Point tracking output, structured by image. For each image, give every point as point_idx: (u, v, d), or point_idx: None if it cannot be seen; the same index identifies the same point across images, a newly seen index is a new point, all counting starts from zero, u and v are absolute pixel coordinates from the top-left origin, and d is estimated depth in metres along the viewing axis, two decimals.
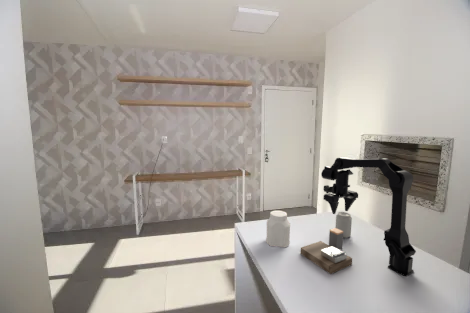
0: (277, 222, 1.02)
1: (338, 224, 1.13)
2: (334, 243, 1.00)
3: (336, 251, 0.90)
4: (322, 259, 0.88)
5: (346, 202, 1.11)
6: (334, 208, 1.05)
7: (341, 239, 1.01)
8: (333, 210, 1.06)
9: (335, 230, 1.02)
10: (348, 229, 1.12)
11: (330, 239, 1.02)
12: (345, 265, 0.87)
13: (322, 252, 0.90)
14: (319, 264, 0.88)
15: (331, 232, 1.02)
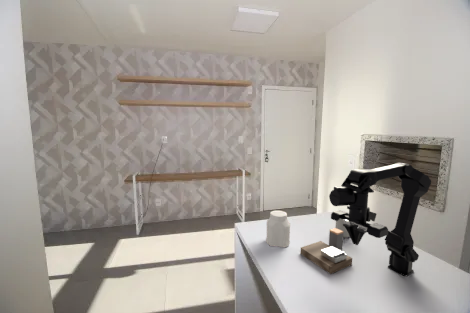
0: (277, 223, 1.02)
1: (338, 224, 1.13)
2: (334, 243, 1.00)
3: (336, 251, 0.90)
4: (322, 259, 0.88)
5: None
6: None
7: (341, 239, 1.01)
8: None
9: (335, 230, 1.02)
10: None
11: (330, 239, 1.02)
12: (345, 265, 0.87)
13: (322, 252, 0.90)
14: (319, 264, 0.88)
15: (331, 232, 1.02)
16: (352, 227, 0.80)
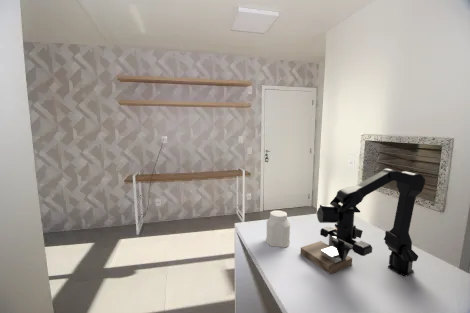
0: (277, 222, 1.02)
1: None
2: None
3: (336, 251, 0.90)
4: (322, 259, 0.88)
5: None
6: None
7: None
8: None
9: None
10: None
11: (330, 239, 1.02)
12: (345, 265, 0.87)
13: (322, 252, 0.90)
14: (319, 264, 0.88)
15: None
16: (340, 244, 0.85)
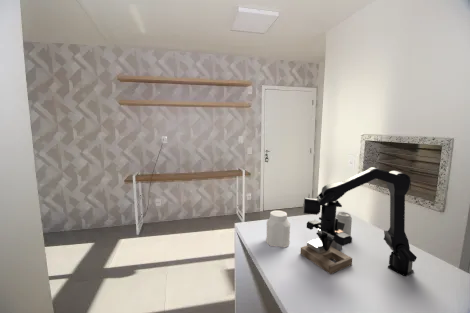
0: (277, 223, 1.02)
1: None
2: (334, 243, 1.00)
3: (321, 243, 0.97)
4: (322, 259, 0.88)
5: None
6: None
7: None
8: None
9: None
10: (348, 229, 1.12)
11: None
12: (345, 265, 0.87)
13: (308, 243, 0.97)
14: (319, 264, 0.88)
15: None
16: (324, 235, 0.92)
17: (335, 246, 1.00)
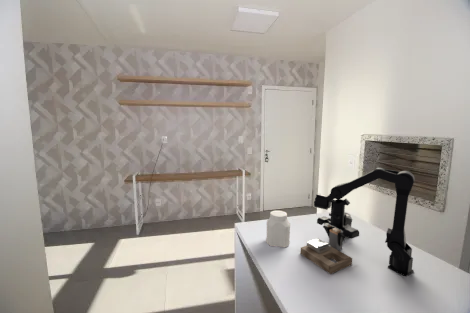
0: (277, 223, 1.02)
1: None
2: (334, 243, 1.00)
3: (321, 243, 0.97)
4: (322, 259, 0.88)
5: None
6: None
7: None
8: None
9: (335, 230, 1.02)
10: None
11: (330, 239, 1.02)
12: (345, 265, 0.87)
13: (308, 243, 0.97)
14: (319, 264, 0.88)
15: (331, 232, 1.02)
16: (329, 228, 1.03)
17: (335, 246, 1.00)
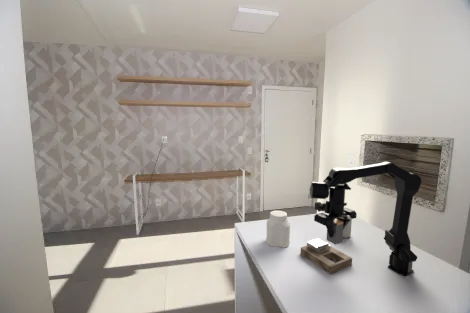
0: (277, 222, 1.02)
1: None
2: (340, 234, 0.87)
3: (321, 243, 0.97)
4: (322, 259, 0.88)
5: None
6: (331, 231, 0.86)
7: None
8: (330, 233, 0.87)
9: (335, 221, 0.88)
10: (348, 229, 1.12)
11: (337, 234, 0.86)
12: (345, 265, 0.87)
13: (308, 243, 0.97)
14: (319, 264, 0.88)
15: (338, 225, 0.86)
16: None
17: (341, 237, 0.88)
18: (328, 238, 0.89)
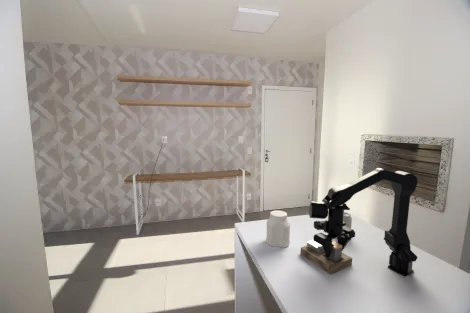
0: (277, 223, 1.02)
1: None
2: (339, 258, 0.88)
3: None
4: (322, 259, 0.88)
5: (339, 242, 0.91)
6: (328, 251, 0.86)
7: None
8: (327, 253, 0.87)
9: (334, 244, 0.89)
10: None
11: (335, 258, 0.87)
12: (345, 265, 0.87)
13: (308, 243, 0.97)
14: (319, 264, 0.88)
15: (337, 249, 0.87)
16: None
17: None
18: None
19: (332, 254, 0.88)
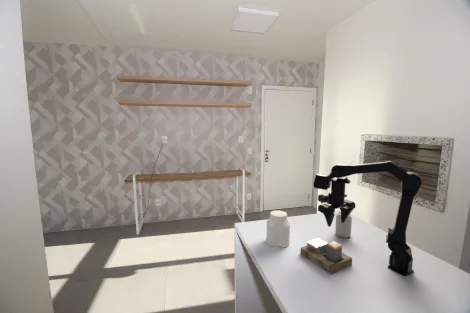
0: (277, 223, 1.02)
1: (338, 224, 1.13)
2: (339, 258, 0.88)
3: (321, 243, 0.97)
4: (322, 259, 0.88)
5: (342, 213, 1.01)
6: (329, 221, 0.96)
7: None
8: (328, 222, 0.96)
9: (334, 244, 0.89)
10: (348, 229, 1.12)
11: (335, 258, 0.87)
12: (345, 265, 0.87)
13: (308, 243, 0.97)
14: (319, 264, 0.88)
15: (336, 249, 0.87)
16: None
17: None
18: None
19: (332, 254, 0.88)
